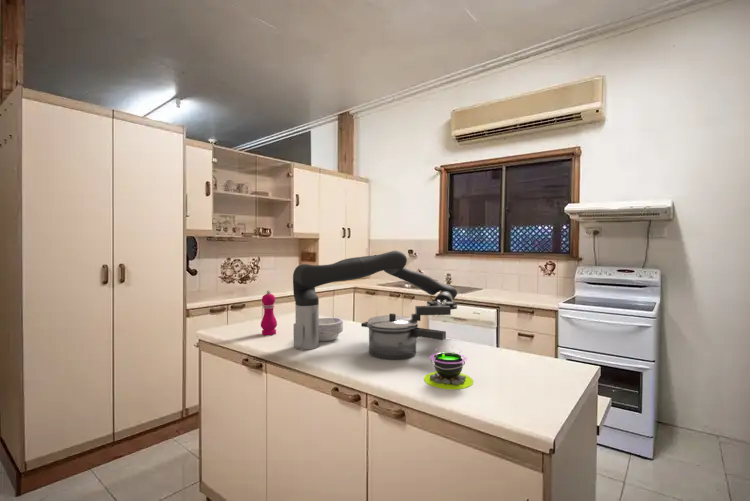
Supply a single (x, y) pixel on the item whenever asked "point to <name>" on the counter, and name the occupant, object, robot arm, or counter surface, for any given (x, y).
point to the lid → (404, 321)
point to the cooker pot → (398, 341)
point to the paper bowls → (329, 328)
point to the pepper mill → (268, 315)
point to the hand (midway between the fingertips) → (439, 308)
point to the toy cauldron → (448, 372)
